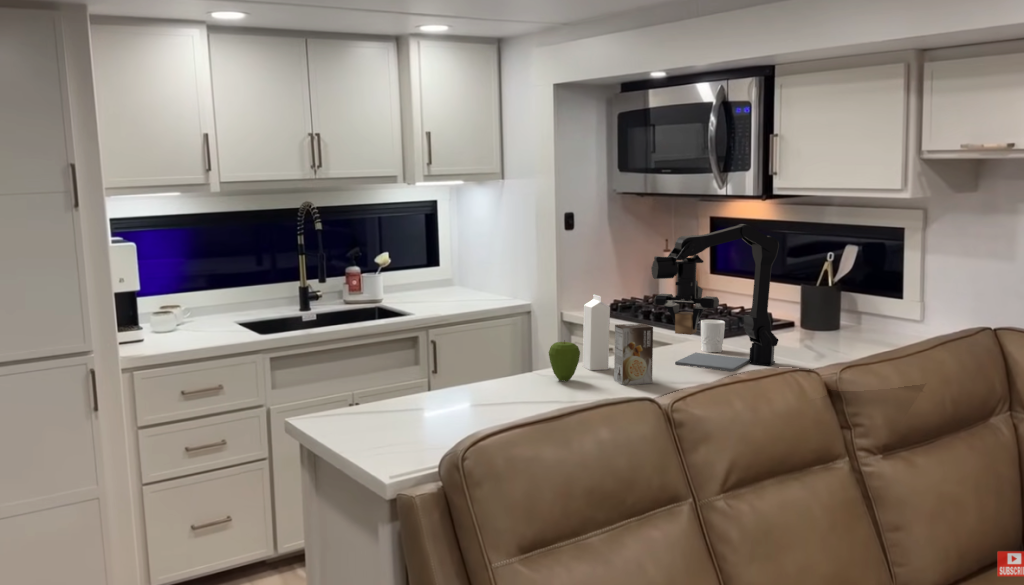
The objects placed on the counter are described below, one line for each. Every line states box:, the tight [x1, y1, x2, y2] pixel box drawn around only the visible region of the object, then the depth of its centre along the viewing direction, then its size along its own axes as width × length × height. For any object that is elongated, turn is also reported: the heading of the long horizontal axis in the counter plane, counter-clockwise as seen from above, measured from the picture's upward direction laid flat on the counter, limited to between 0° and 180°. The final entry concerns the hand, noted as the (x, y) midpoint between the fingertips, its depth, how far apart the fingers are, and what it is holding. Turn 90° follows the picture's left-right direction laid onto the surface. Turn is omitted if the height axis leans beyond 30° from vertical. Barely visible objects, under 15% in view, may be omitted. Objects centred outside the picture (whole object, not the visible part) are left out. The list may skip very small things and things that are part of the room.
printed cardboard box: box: [613, 323, 654, 386], centre depth 244 cm, size 9×6×16 cm
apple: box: [548, 339, 581, 382], centre depth 245 cm, size 9×8×12 cm
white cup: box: [700, 319, 726, 353], centre depth 291 cm, size 8×8×10 cm
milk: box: [582, 294, 611, 371], centre depth 261 cm, size 6×6×22 cm
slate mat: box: [675, 352, 750, 372], centre depth 272 cm, size 18×18×1 cm
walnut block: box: [674, 311, 698, 336], centre depth 266 cm, size 5×5×6 cm
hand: (686, 328), depth 267 cm, fingers closed on walnut block, 5 cm apart
